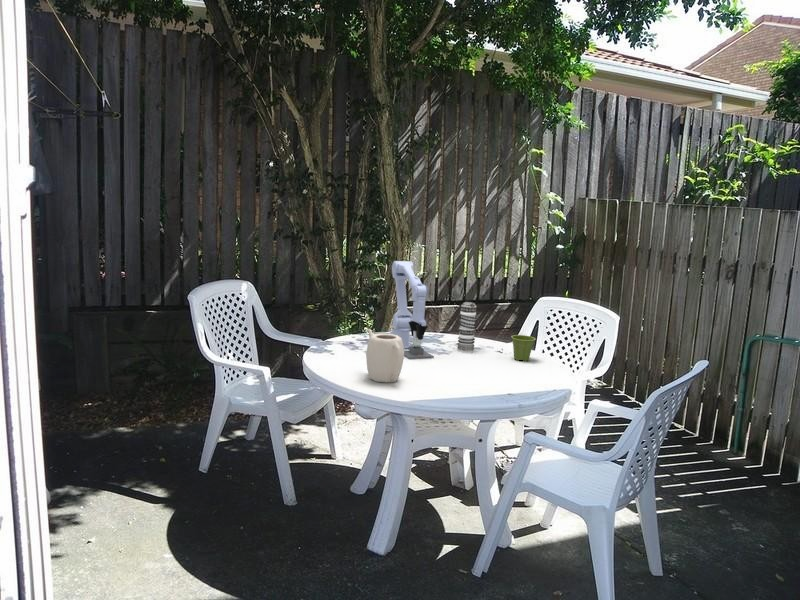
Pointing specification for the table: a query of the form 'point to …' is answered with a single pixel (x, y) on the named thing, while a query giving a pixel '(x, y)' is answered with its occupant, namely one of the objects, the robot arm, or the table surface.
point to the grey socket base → (417, 353)
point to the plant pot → (522, 346)
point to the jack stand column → (416, 339)
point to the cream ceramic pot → (384, 357)
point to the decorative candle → (467, 327)
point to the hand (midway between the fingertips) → (417, 337)
